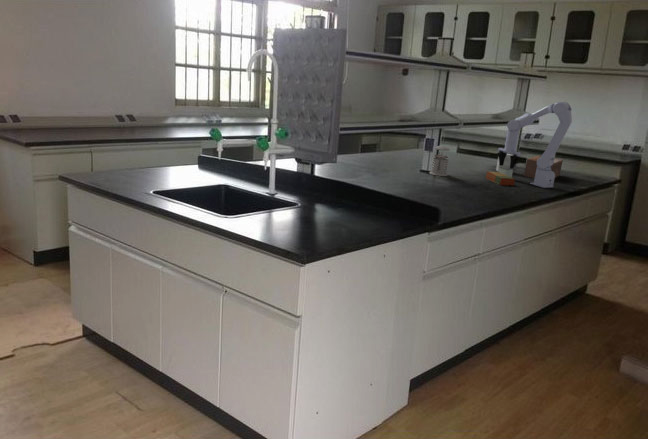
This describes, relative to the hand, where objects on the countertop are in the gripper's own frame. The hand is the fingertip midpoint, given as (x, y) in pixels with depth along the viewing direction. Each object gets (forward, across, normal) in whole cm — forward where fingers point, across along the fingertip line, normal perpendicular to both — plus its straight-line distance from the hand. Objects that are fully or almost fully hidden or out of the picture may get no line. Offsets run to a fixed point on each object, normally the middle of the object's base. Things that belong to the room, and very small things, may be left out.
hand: (506, 167), depth 315 cm
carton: (+7, -8, +12) cm, 16 cm away
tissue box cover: (+7, +4, -35) cm, 36 cm away
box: (+6, 0, 0) cm, 6 cm away
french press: (+7, +12, +37) cm, 39 cm away
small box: (+6, +16, -16) cm, 23 cm away
